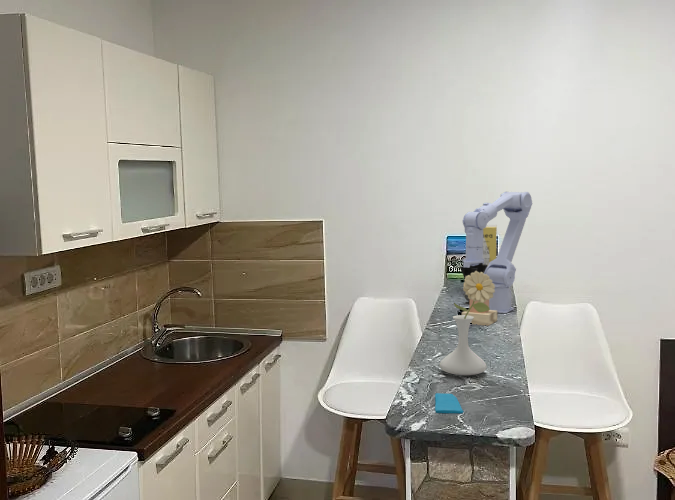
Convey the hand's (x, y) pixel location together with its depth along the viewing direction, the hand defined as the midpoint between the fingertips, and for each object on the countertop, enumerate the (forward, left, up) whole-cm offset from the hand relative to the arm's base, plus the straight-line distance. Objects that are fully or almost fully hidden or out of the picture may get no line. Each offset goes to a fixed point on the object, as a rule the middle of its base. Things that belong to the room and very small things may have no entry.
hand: (473, 286), depth 242 cm
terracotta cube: (+8, +5, -7) cm, 11 cm away
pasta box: (-48, -14, -11) cm, 51 cm away
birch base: (+8, +5, -10) cm, 14 cm away
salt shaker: (-24, -10, -11) cm, 28 cm away
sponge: (+93, +30, -11) cm, 99 cm away
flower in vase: (+69, +24, -11) cm, 74 cm away
